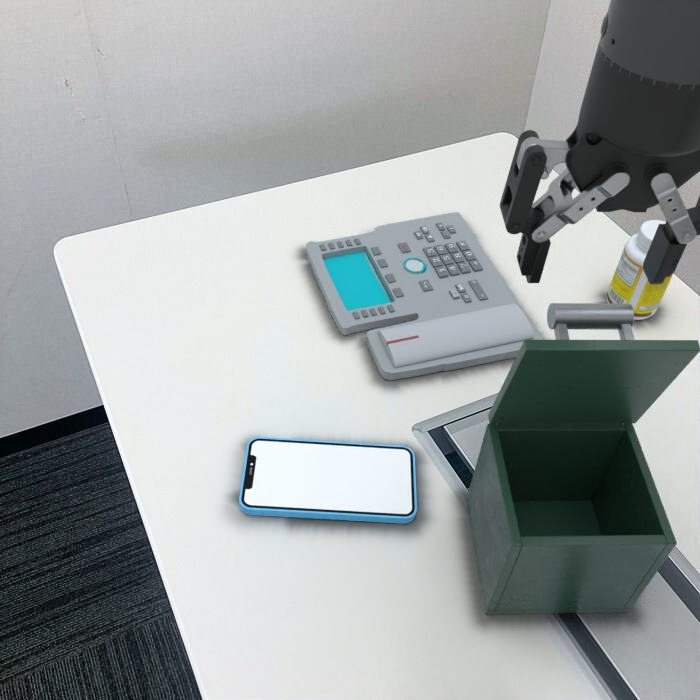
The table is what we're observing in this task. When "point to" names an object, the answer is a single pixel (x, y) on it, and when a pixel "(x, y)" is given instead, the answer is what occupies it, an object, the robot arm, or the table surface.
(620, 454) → the waste bin
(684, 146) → the robot arm
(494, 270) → the office telephone
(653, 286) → the supplement bottle
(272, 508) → the smartphone
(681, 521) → the table surface
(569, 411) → the bin lid
